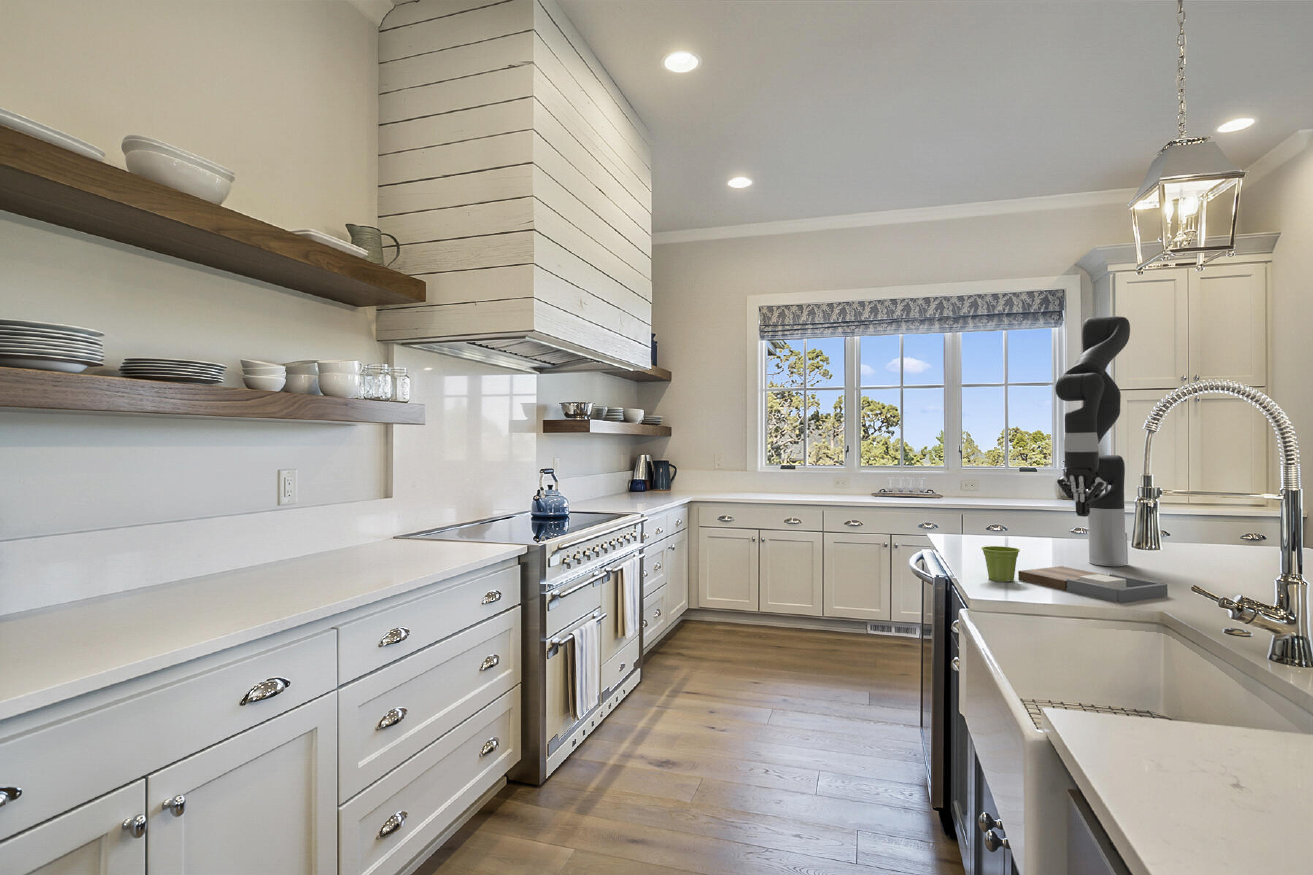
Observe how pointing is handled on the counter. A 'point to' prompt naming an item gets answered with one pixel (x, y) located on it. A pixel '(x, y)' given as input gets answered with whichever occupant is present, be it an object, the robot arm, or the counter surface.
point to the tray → (1120, 590)
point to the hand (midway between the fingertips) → (1082, 516)
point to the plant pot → (1001, 562)
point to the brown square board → (1053, 576)
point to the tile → (1104, 580)
